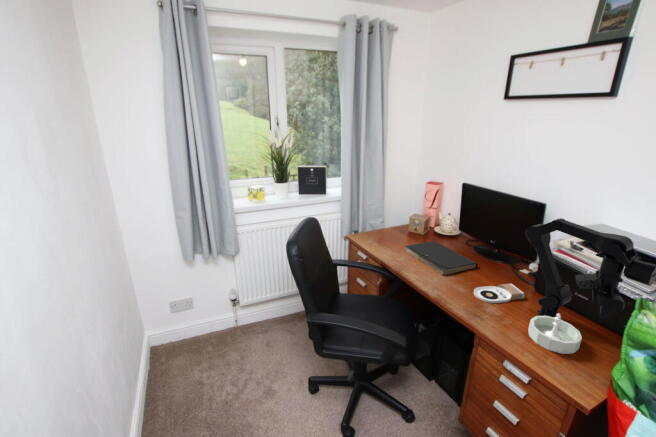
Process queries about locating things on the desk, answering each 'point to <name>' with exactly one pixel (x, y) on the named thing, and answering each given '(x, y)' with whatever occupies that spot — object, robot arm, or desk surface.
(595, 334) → the desk surface
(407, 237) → the desk surface
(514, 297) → the record player
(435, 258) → the dark grey book
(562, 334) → the bowl
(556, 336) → the chess piece
